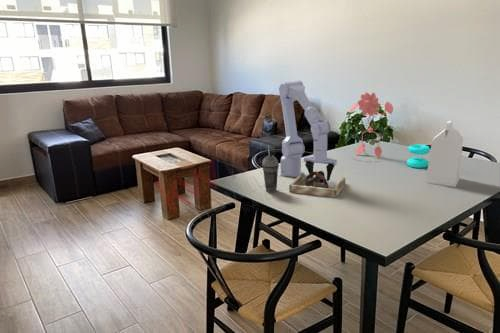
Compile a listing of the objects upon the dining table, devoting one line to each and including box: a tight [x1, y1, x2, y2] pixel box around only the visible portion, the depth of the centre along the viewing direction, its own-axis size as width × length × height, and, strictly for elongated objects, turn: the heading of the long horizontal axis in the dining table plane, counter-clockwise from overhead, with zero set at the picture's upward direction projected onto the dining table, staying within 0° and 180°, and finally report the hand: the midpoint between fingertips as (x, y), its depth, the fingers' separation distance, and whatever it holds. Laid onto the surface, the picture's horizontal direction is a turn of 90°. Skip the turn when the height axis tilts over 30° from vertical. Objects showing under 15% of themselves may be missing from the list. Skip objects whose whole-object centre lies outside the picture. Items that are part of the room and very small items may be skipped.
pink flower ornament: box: [348, 92, 394, 163], centre depth 201 cm, size 15×26×35 cm, turn 43°
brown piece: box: [303, 170, 329, 189], centre depth 166 cm, size 12×10×8 cm
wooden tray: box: [288, 173, 346, 198], centre depth 165 cm, size 20×17×3 cm
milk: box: [425, 120, 464, 188], centre depth 163 cm, size 12×12×26 cm
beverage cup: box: [261, 144, 280, 193], centre depth 162 cm, size 7×7×20 cm
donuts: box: [406, 143, 431, 169], centre depth 187 cm, size 10×10×10 cm
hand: (319, 178), depth 168 cm, fingers open, 7 cm apart
